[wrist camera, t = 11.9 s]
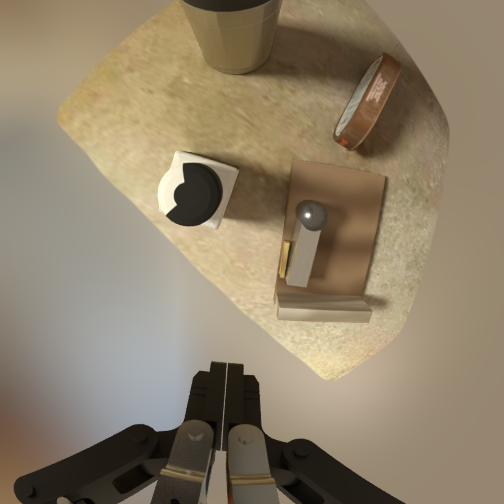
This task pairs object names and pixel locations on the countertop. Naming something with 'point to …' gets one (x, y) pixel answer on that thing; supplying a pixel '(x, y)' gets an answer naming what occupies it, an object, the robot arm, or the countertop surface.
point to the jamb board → (331, 243)
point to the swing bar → (304, 242)
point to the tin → (367, 102)
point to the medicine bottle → (196, 190)
